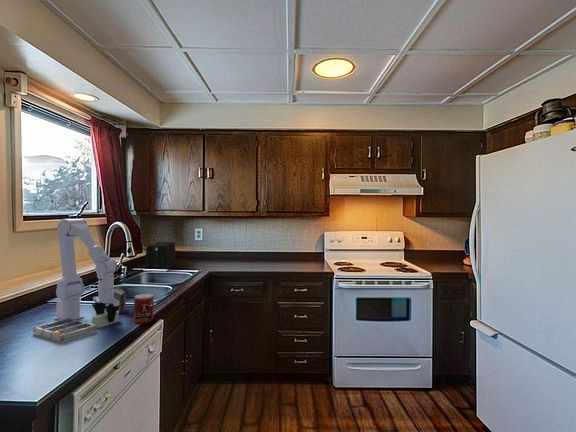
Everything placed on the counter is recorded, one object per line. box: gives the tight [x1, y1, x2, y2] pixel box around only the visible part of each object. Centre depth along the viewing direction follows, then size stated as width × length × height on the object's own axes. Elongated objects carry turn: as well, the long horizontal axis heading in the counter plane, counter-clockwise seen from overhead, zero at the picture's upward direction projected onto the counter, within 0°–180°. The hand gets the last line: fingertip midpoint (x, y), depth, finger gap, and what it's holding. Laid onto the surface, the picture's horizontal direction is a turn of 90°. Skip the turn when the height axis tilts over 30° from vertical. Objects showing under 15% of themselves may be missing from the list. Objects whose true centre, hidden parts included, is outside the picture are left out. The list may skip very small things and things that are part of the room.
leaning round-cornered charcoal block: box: [107, 288, 127, 314], centre depth 172 cm, size 16×5×9 cm, turn 47°
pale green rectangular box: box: [91, 311, 120, 329], centre depth 151 cm, size 3×10×4 cm, turn 153°
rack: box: [32, 318, 98, 344], centre depth 139 cm, size 18×14×3 cm
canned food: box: [133, 293, 154, 324], centre depth 156 cm, size 8×8×11 cm
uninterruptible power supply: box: [144, 241, 177, 270], centre depth 291 cm, size 16×34×20 cm, turn 6°
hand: (105, 320), depth 151 cm, fingers open, 6 cm apart
